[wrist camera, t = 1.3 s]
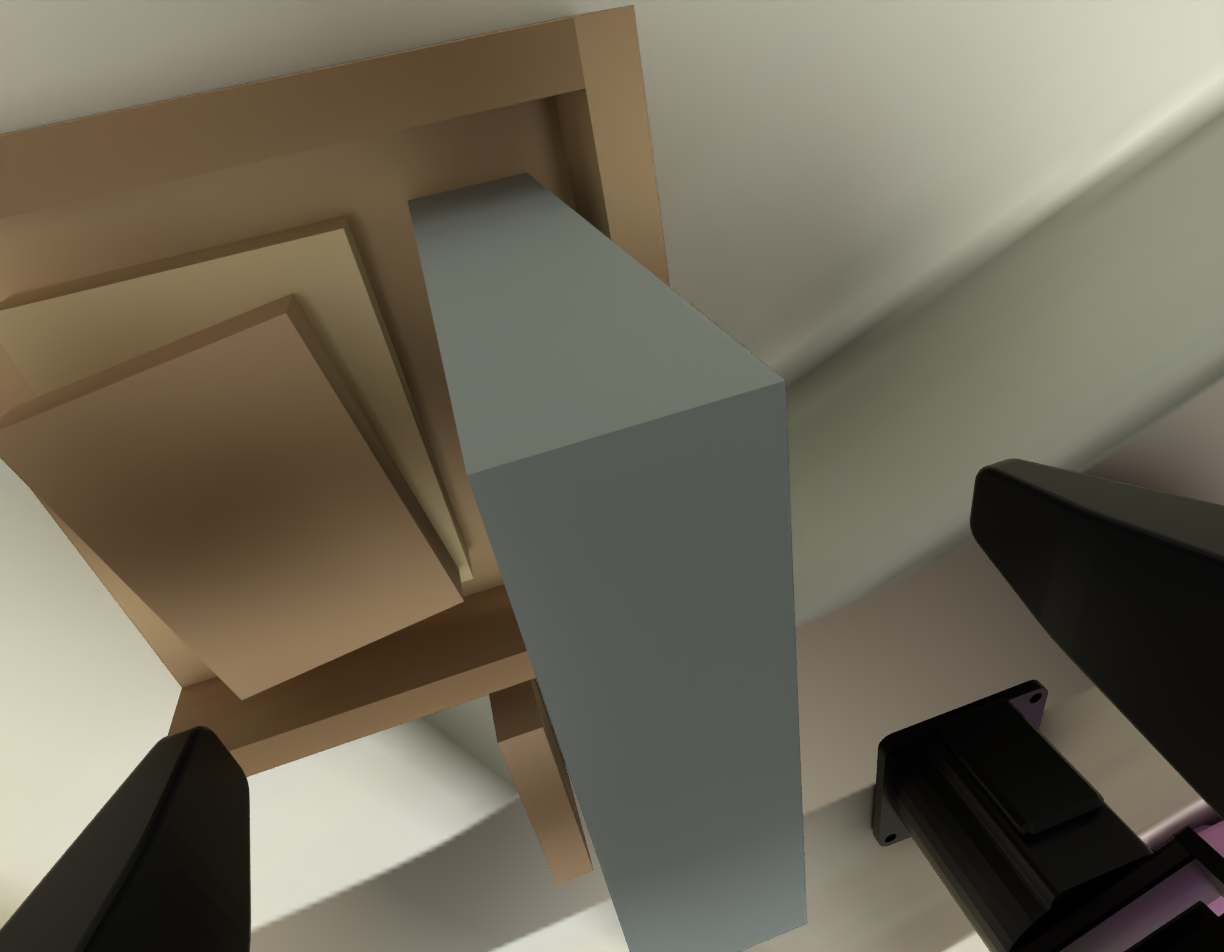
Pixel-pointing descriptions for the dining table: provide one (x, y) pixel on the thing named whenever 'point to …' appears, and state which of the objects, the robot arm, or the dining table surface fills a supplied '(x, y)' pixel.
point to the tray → (383, 231)
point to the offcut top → (239, 497)
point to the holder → (540, 777)
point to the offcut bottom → (219, 290)
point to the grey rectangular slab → (634, 553)
